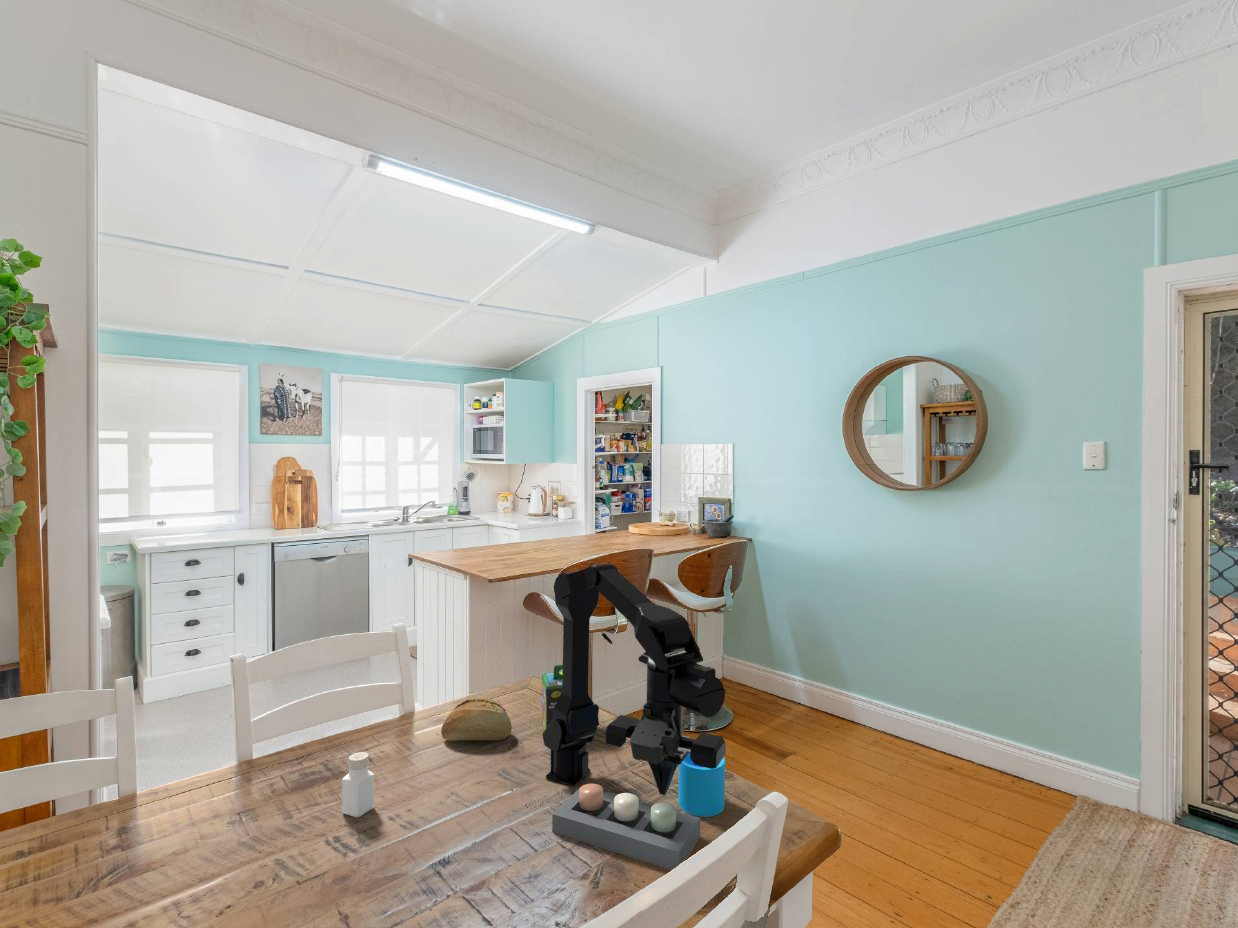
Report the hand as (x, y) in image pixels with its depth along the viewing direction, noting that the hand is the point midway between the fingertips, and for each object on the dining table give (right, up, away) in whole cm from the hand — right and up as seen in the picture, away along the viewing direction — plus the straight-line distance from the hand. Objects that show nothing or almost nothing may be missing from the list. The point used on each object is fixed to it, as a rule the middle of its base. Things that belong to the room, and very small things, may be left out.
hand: (663, 793), depth 99 cm
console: (-6, -8, +3) cm, 10 cm away
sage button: (0, -5, 0) cm, 5 cm away
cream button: (-6, -5, +3) cm, 8 cm away
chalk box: (-20, -8, +43) cm, 48 cm away
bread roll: (-38, -8, +37) cm, 54 cm away
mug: (+7, -9, +14) cm, 18 cm away
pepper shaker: (-52, -8, +9) cm, 53 cm away
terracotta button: (-12, -5, +6) cm, 14 cm away
